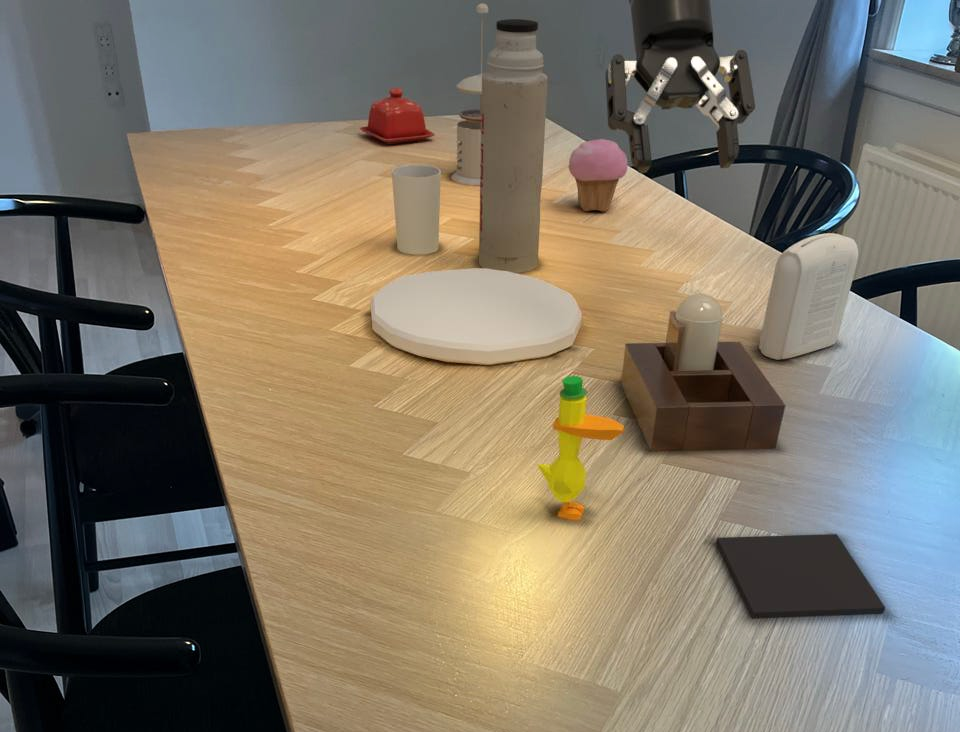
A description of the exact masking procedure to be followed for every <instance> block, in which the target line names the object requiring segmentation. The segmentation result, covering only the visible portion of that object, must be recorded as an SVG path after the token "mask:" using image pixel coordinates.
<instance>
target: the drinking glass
mask: <svg viewBox="0 0 960 732" xmlns="http://www.w3.org/2000/svg"><path fill="white" fill-rule="evenodd" d="M441 177H442V170H441V169H440V168H438V167H436V166H433V165H426V164H404V165H400V166H395V167H393V168H391V180H392V181H391V182H392V183H391V184H392V195H393V205H394V206H393V208H394V218H395V219H394V221H395V232H396V233H395V234H396V244H397V245H396V246H397V250H398V251H399V252H401V253H404V254H407V255H427V254H432V253H435V252H437V251H438V250H439V243H440V242H439V240H440V239H439V238H440V212H441V210H440V208H441V207H440V206H441V181H442V178H441Z"/></svg>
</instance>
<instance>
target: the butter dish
mask: <svg viewBox="0 0 960 732" xmlns="http://www.w3.org/2000/svg"><path fill="white" fill-rule="evenodd" d="M388 93H389V95H390V97H384V98H381V99H379V100H376V101H375V102H373V103H372V104H371V105H370V109H369V113H368V120H367V126H362V127H360V128H359V129H360V131H362V132H364V133H366V134H367V135H370V136H371V137H373V138H375V139H376V140H379V141H382V142H384V143H386V144H387V145H395V144H402V143H404V144H405V143H411V142H419V141H423V139H427V138H432V137H434V136H435V135H436V133H435V132H433V131H431V130H430V129H427V128H426V122H425V116H424V111H423V109H422V108H421V106H420V105H419V104H418V103H416V102H415V101H414V100H411V99H409V98H405V97H402V96H403V94H404V91H403V90H402V89H401V88H397V87H394V88H391V89H389V91H388Z"/></svg>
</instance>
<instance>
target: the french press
mask: <svg viewBox="0 0 960 732" xmlns="http://www.w3.org/2000/svg"><path fill="white" fill-rule="evenodd" d="M475 9H476V11H475V12H476V13H479V14H481V16H480V17H481V18H480V19H481V21H480V23H481V24H480V25H481V27H480V73H478V74H476V75H473V76H472V75H471V76H469V77H465V78H464V79H462V80H461V81H460V82H458V83H457V84H456V85H455V87H456V88H457V90H458V91H459V92H461V93H465V94H470V95H480V96H479V109H477V108H476V109H466V110H462V111H460V112H459V114H458V115H459V117H460V118H461V119H462V120H461V121H458V122H457V123H456V139H457V140H456V170H455V172H454V173H453V174H452V175H451V176H450V178H451V179H452V181H454V182H456V183H458V184H463V185H469V186H480V163H481V100H482V74H483V29H484V28H483V27H484V14H486V13H487V14H488V13H489V6H488V4H486V3H479V4H478V5H477V6H476V8H475Z"/></svg>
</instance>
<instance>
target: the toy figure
mask: <svg viewBox="0 0 960 732" xmlns="http://www.w3.org/2000/svg"><path fill="white" fill-rule="evenodd" d="M583 381H584V379H583V378H582V376H577V375H571V376H565V378H563V379H562V384H563V389H561V390H560V391H559V404H558V405H559V406H558V416H557V417H555V419H554V421H553V424H552V429H553V430H555V431H557V436H558V449H559V450H558V451H559V455H558V456H557V457H556V458H555V460H554V461H552V463H551V464H544V463H543V464H542V463H536V465H537V468H538V469H539V470H540V472H541V474H542V475H543V477H544V479H545V480H546V482H547V484H548V487H549V489H550V491H551V493H552V494H553V496H554V497H555V499H556V500H557V501H559V502H562V504H561V506H560V508H559V511H558V513H557V515H556V516H557V517H558V518H561V519H565V520H567V521H568V520H569V521H581V519H582V517H583V514H584V511H585V507H584V506H583V505H582V504H580V503H579V502H574V500H575V499H576V498H577V497H578V496H579V495H580V494H581V493H582V491H583V490H584V489H585V486H586V476H587V471H586V468H585V466H584V464H583V463H582V461H581V460H580V458H579V453H580V450H581V449H580V448H581V444H582V441H583V439H592V440H600V441H601V440H602V441H613V440H614V439H615V438H618V437H619V436H620V435H622V434H623V433H624V428H625V425H623V424H621V423H620V422H618V421H617V420H615V419H611V418H609V417H605V416H600V415H596V414H588V413H587V401H588V398H587V396H586V395H587V394H588V390H587V389H586V387H585V388H584V387H583V384H584V383H583Z"/></svg>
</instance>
